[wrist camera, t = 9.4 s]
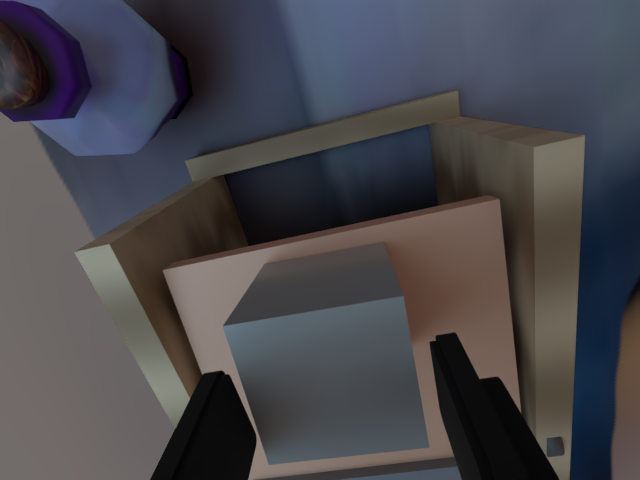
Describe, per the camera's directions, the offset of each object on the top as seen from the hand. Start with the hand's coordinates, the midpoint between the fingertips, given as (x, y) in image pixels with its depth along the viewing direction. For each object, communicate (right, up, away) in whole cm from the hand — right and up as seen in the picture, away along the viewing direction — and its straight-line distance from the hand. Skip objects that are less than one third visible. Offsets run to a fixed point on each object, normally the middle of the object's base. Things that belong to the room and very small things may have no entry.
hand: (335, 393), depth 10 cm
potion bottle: (-12, +16, +13) cm, 23 cm away
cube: (0, +2, +4) cm, 5 cm away
